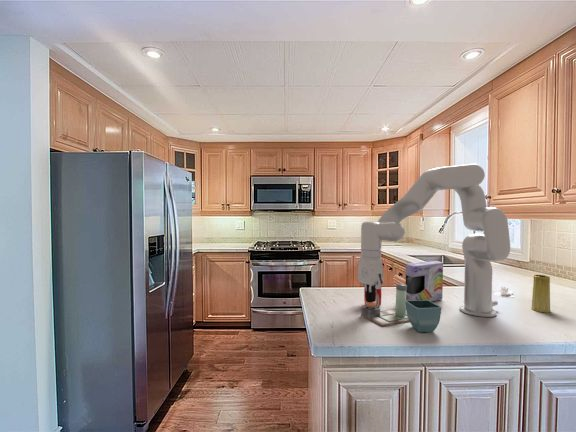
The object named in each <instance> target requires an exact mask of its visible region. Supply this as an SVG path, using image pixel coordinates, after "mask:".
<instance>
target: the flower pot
mask: <svg viewBox="0 0 576 432" xmlns="http://www.w3.org/2000/svg"><path fill="white" fill-rule="evenodd" d="M405 303H406V311H405V312H406V315H407V316H408V319H409V321H410V322H409V324H410V325H411V326H412V328H413V329H415V330H416V331H417V332H419V333H427V332H429V333H430V332H434V331H435V330H436V329H437V328H438V326H439V324H440V321H441V315H442V314H441V313H442V306H441V305H438V304H437V303H434V302H433V301H432V302H431V301H429V300H413V301H405Z"/></svg>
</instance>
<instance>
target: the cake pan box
mask: <svg viewBox="0 0 576 432" xmlns="http://www.w3.org/2000/svg"><path fill="white" fill-rule="evenodd" d="M443 278H444V262H442V261H438V260H432V261H418V262H413V263H406V264H405V283H404V284H405V285H407V290H406V301H413V300H429V301H431V302H432V303H433V302H436V301H441V300H443V284H444V282H443V281H444V279H443Z"/></svg>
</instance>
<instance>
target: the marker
mask: <svg viewBox="0 0 576 432" xmlns="http://www.w3.org/2000/svg"><path fill="white" fill-rule="evenodd" d="M405 284H406V283H396V284H395V309H394V310H395V316H396V317H399V318H405V314H406V312H407V311H406V303H405V301H406V290H407V285H405Z"/></svg>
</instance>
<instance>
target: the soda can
mask: <svg viewBox="0 0 576 432" xmlns="http://www.w3.org/2000/svg"><path fill="white" fill-rule="evenodd" d="M363 287H364V289H363V290H364V291H363V292H364V293H363V296H364V299H363V300H364V301H363V302H365V301H366V291H365V286H364V285H363ZM372 287H373V286H372ZM375 301H376V306H375V307H378V308H379V307H381V305H382V288H381V289H377V291H376V292H375Z"/></svg>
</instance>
